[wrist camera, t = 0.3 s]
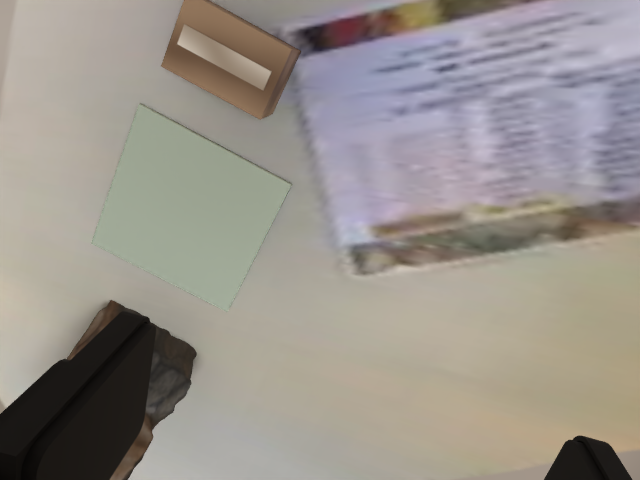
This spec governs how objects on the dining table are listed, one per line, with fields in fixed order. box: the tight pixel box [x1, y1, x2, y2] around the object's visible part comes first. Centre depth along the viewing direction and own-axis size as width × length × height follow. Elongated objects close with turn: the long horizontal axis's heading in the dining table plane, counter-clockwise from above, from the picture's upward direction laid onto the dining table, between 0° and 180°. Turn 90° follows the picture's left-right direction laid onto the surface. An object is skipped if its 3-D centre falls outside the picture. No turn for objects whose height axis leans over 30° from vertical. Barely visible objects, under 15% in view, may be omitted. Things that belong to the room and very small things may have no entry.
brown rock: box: [67, 300, 197, 480], centre depth 45 cm, size 13×13×20 cm
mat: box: [91, 104, 292, 312], centre depth 47 cm, size 16×16×1 cm
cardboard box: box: [161, 0, 301, 119], centre depth 39 cm, size 6×9×5 cm, turn 63°
